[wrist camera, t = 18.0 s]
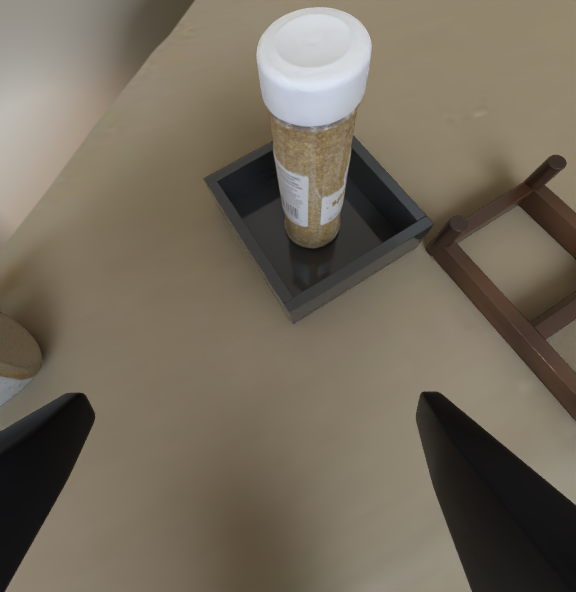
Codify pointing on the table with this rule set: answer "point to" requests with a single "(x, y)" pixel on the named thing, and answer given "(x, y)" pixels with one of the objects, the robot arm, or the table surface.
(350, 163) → the open square storage box
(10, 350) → the ceramic mug
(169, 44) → the table surface
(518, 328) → the cup rack
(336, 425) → the table surface
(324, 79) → the sprinkles bottle
